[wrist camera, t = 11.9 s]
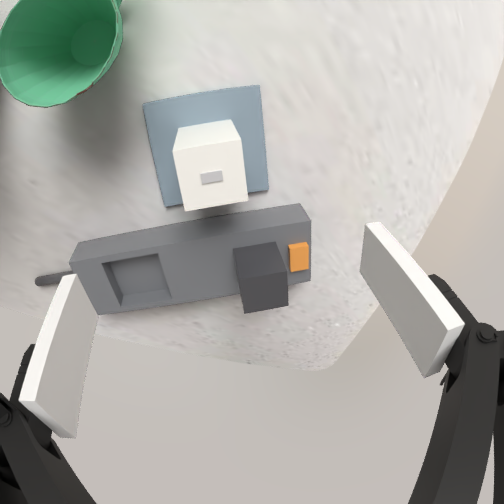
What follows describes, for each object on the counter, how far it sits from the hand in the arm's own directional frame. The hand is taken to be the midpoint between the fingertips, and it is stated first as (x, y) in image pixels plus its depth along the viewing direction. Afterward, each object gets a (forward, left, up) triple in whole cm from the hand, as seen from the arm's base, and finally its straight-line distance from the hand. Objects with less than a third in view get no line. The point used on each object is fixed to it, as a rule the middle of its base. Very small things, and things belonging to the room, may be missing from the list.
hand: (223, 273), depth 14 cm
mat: (0, 0, -20) cm, 20 cm away
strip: (-8, -12, -20) cm, 25 cm away
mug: (-8, +15, -21) cm, 27 cm away
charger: (0, 0, -20) cm, 20 cm away
